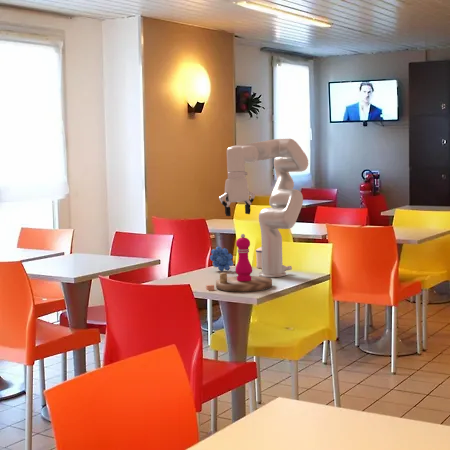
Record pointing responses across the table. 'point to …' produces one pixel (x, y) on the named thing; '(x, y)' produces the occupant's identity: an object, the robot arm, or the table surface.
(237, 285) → the disc
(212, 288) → the block
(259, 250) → the teacup with lid
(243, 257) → the pepper mill
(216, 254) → the blue lumpy piece
